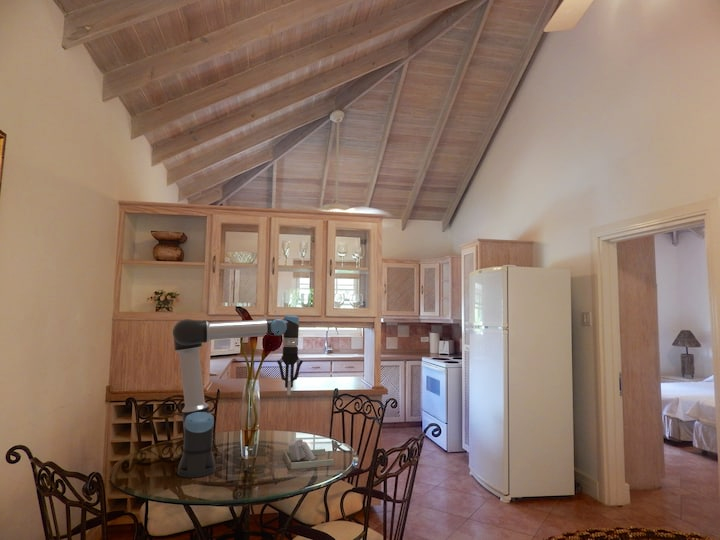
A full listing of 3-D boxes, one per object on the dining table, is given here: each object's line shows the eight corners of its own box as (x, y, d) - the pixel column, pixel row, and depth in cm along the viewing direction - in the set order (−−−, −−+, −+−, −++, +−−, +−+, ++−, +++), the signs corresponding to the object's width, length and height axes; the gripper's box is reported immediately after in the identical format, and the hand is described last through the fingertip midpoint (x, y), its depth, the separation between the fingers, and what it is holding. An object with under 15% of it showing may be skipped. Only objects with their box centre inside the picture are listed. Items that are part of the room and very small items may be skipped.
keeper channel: (289, 469, 189) (289, 462, 190) (283, 457, 206) (283, 450, 206) (333, 465, 195) (334, 458, 196) (324, 454, 212) (324, 447, 212)
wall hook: (311, 463, 196) (307, 440, 198) (291, 466, 199) (287, 443, 201) (319, 458, 204) (315, 436, 206) (299, 461, 207) (296, 439, 209)
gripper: (278, 346, 215) (276, 396, 212) (304, 346, 218) (302, 395, 215) (276, 345, 222) (274, 393, 219) (302, 345, 225) (300, 392, 222)
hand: (288, 394), depth 217 cm, fingers closed
